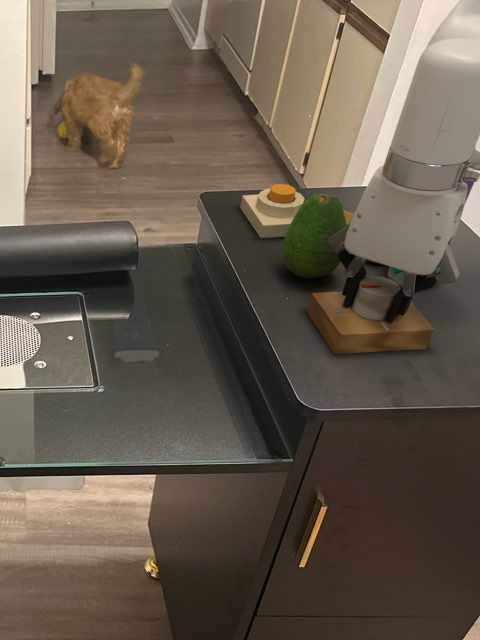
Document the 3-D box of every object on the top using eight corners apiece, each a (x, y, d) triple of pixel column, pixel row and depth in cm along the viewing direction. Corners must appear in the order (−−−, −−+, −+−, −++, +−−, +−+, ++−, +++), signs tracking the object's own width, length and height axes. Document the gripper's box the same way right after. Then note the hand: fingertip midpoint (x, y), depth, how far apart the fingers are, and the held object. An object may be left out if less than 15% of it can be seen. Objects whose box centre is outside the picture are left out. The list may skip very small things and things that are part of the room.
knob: (381, 298, 91) (390, 272, 88) (397, 319, 87) (408, 292, 85) (345, 301, 91) (354, 275, 88) (360, 321, 87) (370, 294, 85)
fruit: (345, 291, 97) (372, 209, 90) (284, 291, 98) (306, 211, 90) (327, 260, 104) (351, 181, 96) (270, 261, 104) (289, 182, 96)
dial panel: (391, 307, 94) (399, 286, 92) (426, 349, 87) (435, 328, 85) (306, 312, 94) (312, 291, 92) (334, 354, 88) (341, 333, 85)
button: (288, 193, 112) (290, 183, 111) (296, 204, 109) (299, 193, 108) (264, 195, 112) (267, 184, 111) (272, 205, 109) (275, 195, 108)
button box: (289, 204, 117) (295, 181, 114) (313, 235, 109) (320, 210, 107) (239, 207, 117) (244, 184, 114) (260, 238, 109) (265, 214, 107)
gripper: (524, 175, 74) (456, 320, 86) (357, 138, 84) (316, 273, 95) (502, 202, 70) (434, 350, 82) (329, 160, 80) (290, 298, 92)
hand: (371, 308), depth 89 cm, fingers closed on knob, 4 cm apart
